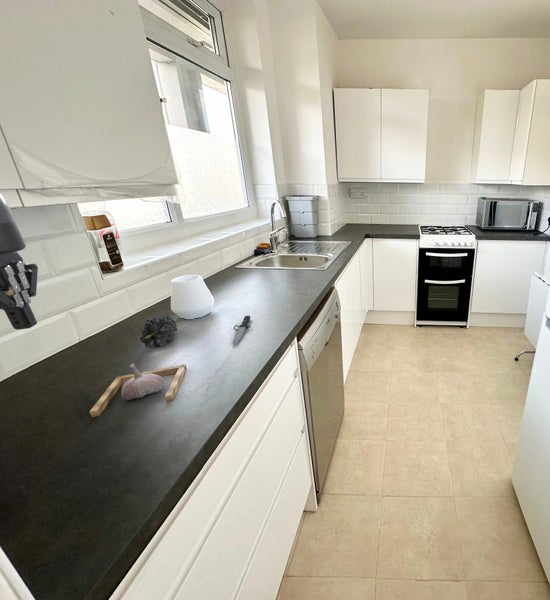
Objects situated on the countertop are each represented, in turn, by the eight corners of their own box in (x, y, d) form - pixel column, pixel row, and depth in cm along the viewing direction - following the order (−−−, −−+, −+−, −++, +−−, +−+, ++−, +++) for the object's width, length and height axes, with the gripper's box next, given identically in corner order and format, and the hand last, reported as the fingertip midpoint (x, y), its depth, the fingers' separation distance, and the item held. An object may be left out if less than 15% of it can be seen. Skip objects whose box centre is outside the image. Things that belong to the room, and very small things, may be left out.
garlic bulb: (116, 405, 68) (102, 374, 65) (139, 384, 75) (128, 355, 72) (152, 403, 69) (140, 372, 66) (172, 382, 75) (162, 354, 73)
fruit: (158, 304, 99) (135, 322, 86) (188, 308, 102) (171, 327, 89) (155, 328, 101) (133, 350, 88) (185, 332, 104) (168, 354, 91)
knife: (241, 341, 91) (222, 343, 90) (242, 347, 92) (224, 349, 91) (254, 314, 108) (238, 315, 107) (255, 319, 109) (240, 320, 108)
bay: (173, 400, 69) (171, 394, 69) (92, 417, 65) (89, 411, 64) (187, 368, 81) (185, 364, 80) (119, 381, 76) (116, 376, 76)
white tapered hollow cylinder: (225, 311, 116) (216, 275, 111) (188, 325, 105) (177, 286, 100) (202, 305, 122) (193, 271, 117) (166, 318, 111) (154, 281, 106)
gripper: (-25, 217, 50) (23, 315, 56) (-112, 228, 39) (-40, 350, 45) (37, 215, 53) (76, 309, 59) (-27, 225, 41) (30, 341, 47)
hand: (26, 327), depth 52 cm, fingers closed
